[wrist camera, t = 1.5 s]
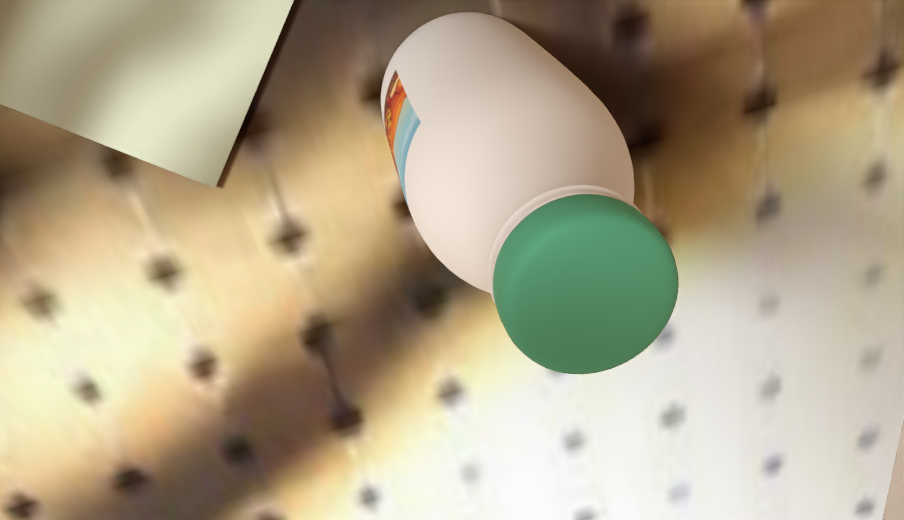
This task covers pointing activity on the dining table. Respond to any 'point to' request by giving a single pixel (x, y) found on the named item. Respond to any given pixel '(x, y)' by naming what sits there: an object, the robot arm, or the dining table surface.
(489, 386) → the dining table surface
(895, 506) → the robot arm
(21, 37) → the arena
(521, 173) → the milk bottle
